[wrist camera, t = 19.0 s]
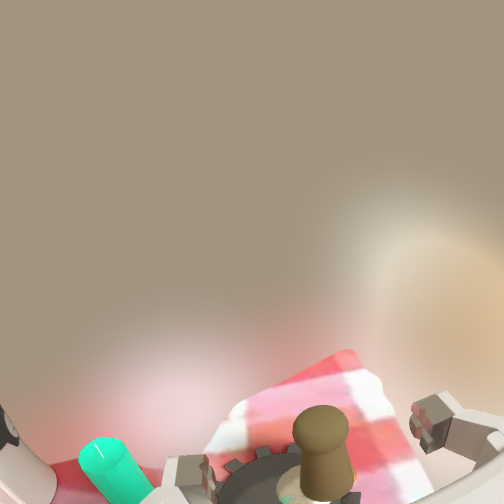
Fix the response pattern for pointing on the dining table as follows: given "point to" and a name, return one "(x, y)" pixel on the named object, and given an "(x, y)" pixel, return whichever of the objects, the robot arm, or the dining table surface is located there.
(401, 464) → the dining table surface
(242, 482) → the sprocket plate
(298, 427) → the cork
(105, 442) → the candle
